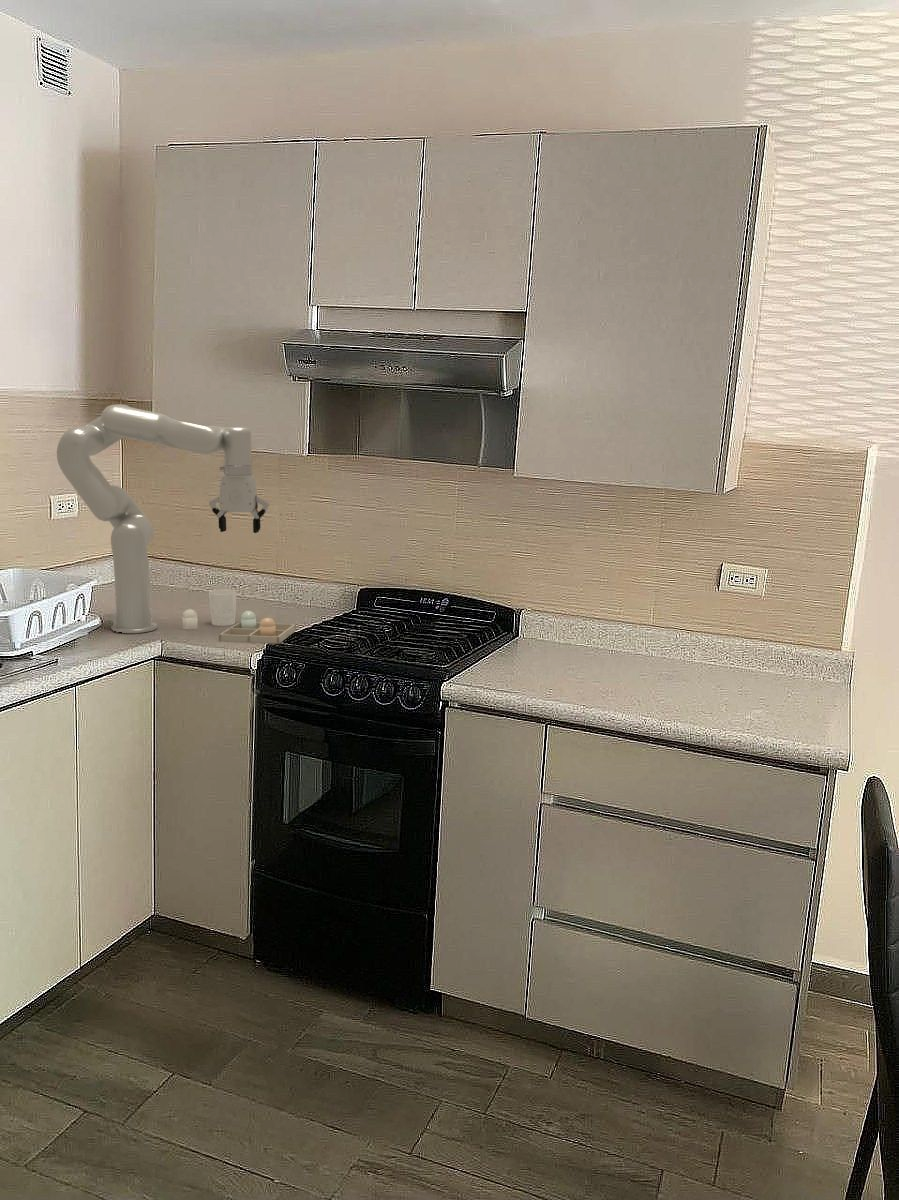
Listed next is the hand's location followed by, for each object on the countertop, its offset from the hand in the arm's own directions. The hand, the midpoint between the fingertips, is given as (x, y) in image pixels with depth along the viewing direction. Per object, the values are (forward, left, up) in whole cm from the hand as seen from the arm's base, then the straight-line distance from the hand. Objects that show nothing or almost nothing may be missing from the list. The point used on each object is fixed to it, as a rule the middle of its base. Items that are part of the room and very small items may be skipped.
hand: (239, 531), depth 299 cm
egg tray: (+8, -10, -28) cm, 31 cm away
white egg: (-14, -4, -28) cm, 32 cm away
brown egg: (+12, -14, -28) cm, 33 cm away
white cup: (-7, +4, -28) cm, 30 cm away
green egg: (+4, -6, -28) cm, 29 cm away
